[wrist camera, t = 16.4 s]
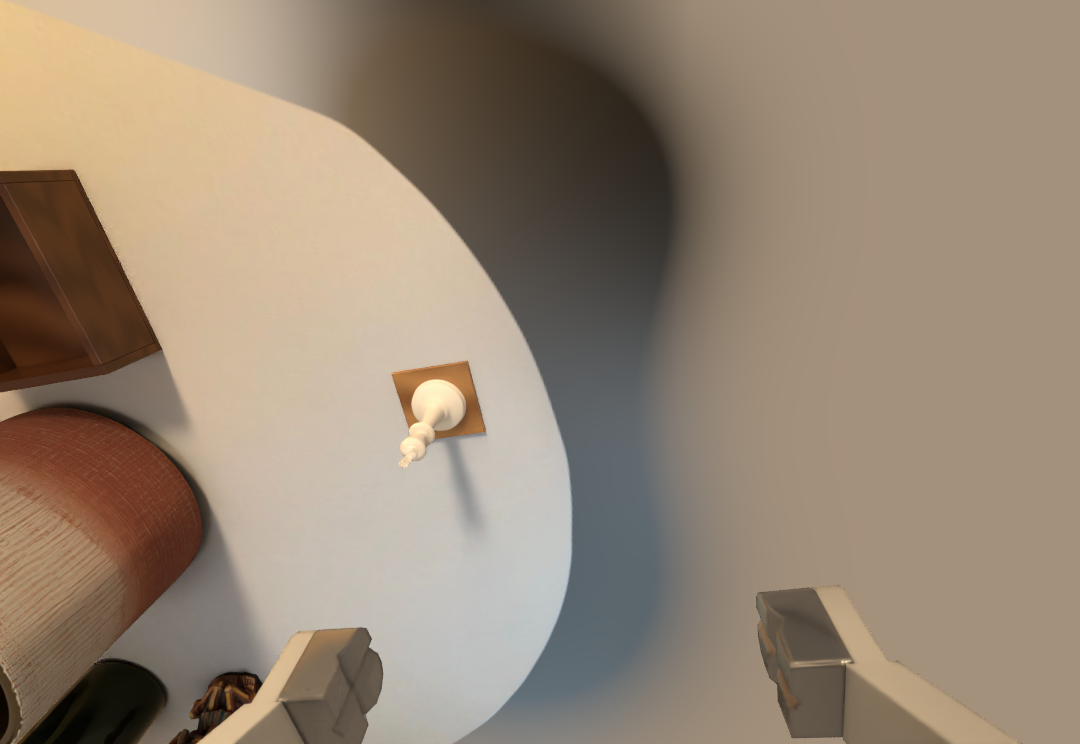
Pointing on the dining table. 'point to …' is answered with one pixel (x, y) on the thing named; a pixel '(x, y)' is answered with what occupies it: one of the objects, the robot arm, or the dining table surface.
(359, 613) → the dining table surface
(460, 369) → the coaster
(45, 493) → the planter
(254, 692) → the figurine
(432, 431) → the chess piece
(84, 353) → the crate
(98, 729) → the green wine bottle
